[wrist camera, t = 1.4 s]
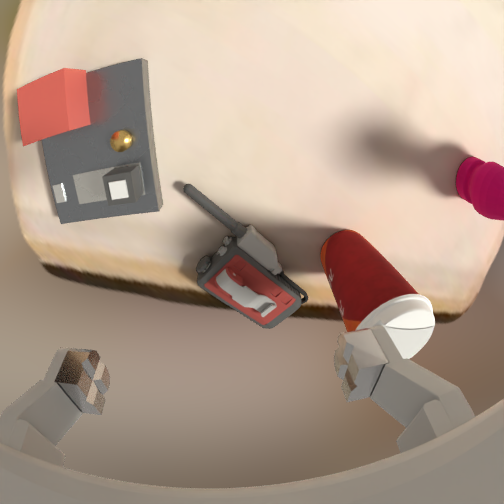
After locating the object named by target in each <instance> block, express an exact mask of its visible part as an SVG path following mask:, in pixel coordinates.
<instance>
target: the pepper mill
mask: <svg viewBox="0 0 504 504" xmlns="http://www.w3.org/2000/svg"><path fill="white" fill-rule="evenodd" d="M456 188H457V191H458V194H459V195H460V197H461V198H462V199H464V200H466V201H467V202H469V203H471V204H473V207H474V209H475V210H476V211H477V212H478V213H479V214H481V215H483V216H484V217H487V218H490V219H495V220H504V167H502V166H501V165H499V164H497V163H495V162H487V163H485V162H484V161H482V160H480V159H478V158H475V157H470V158H467V159H466V160H465V161H464V162H463V163H462V164H461V166H460V168H459V170H458V173H457V176H456Z"/></svg>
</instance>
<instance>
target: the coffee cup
mask: <svg viewBox="0 0 504 504" xmlns="http://www.w3.org/2000/svg"><path fill="white" fill-rule="evenodd" d="M321 262H322V265H323V268H324V271H325V274H326V276H327V279H328V281H329V284H330V287H331V289H332V292H333V294H334V297H335V300H336V302H337V305H338V308H339V310H340V313H341V316H342V318H343V321H344V324H345V327H346V329H347V332H350V331H355V330H360V329H365V328H370V327H375V326H380V325H382V326H383V327H384V328H385V329H386V331H387V333H388V334H389V336H390V337H391V339H392V341H393V342H394V344H395V346H396V348H397V349H398V351H399V353H400V354H401V356H402V358H403V359H406V358H407V359H410V358H411V357H413V356H414V355H415V354H416V353H417V352H418V351H419V350H420V349H421V348H422V347H423V346H424V345H425V344H426V342H427V341H428V340H429V338H430V336H431V334H432V332H433V329H434V325H435V318H434V315H433V309H432V305H431V302H430V301H429V300H428V298H426V297H425V296H423V295H420V294H418V293H417V292H416V291H415V290H414V288H413V287H412V286H411V285H410V284H409V283H408V282H407V281H406V280H405V279H404V278H403V276H402V275H401V274H400V273H399V272H398V271H397V270H396V269H395V268H394V267H393V266H392V265H391V264H390V263H389V262H388V261H387V260H386V259H385V258H384V257H383V256H382V255H381V254H380V253H379V252H378V251H377V250H376V249H375V248H374V247H373V246H372V245H371V244H370V243H369V242H368V241H367V240H366V239H365V238H364V237H363V236H361V235H360V234H359V233H357V232H355V231H352V230H343V231H339V232H337V233H335V234H333V235H332V236H330V237H329V238H328V239H327V240H326V242H325V243H324V245H323V247H322V249H321Z"/></svg>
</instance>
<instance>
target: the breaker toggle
mask: <svg viewBox="0 0 504 504" xmlns="http://www.w3.org/2000/svg"><path fill="white" fill-rule="evenodd" d="M102 178H103V183H104V188H105V193H106V198H107V202H108V206H112V205H120V204H127V203H135V202H137V201H138V199H139V198H140V197H141V196H142V194H143V188H142V182H141V176H140V169H139V165H136V166H130V167H123V168H118V169H112V170H111V171H109V172H108V173H107V174H105V175H104V176H102Z"/></svg>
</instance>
